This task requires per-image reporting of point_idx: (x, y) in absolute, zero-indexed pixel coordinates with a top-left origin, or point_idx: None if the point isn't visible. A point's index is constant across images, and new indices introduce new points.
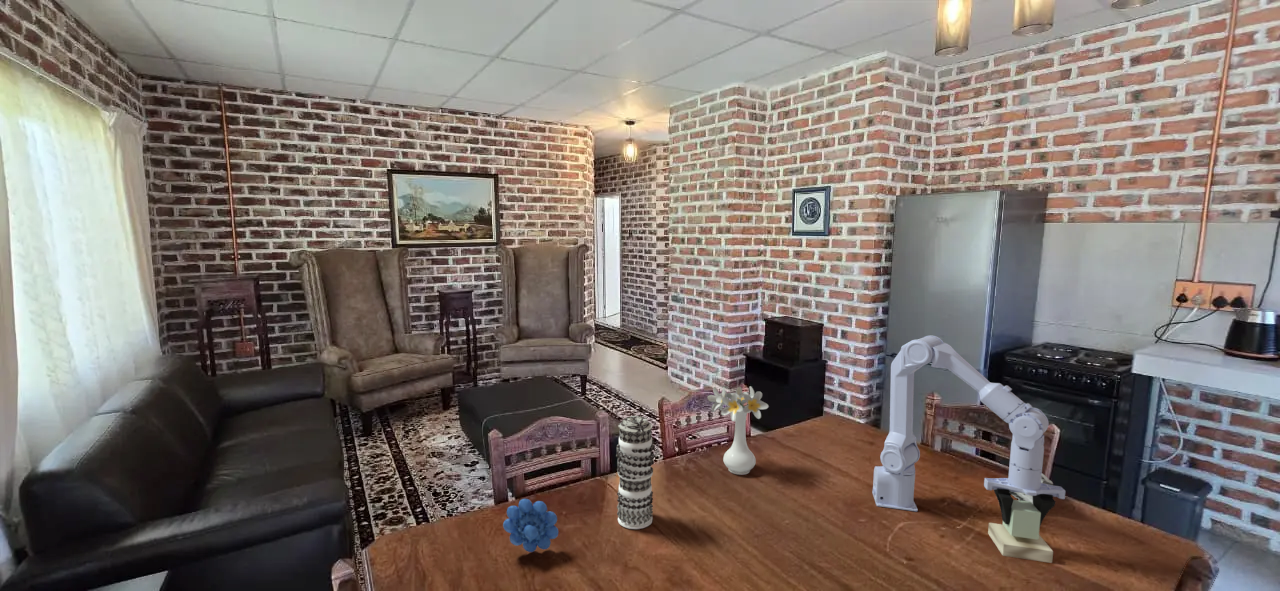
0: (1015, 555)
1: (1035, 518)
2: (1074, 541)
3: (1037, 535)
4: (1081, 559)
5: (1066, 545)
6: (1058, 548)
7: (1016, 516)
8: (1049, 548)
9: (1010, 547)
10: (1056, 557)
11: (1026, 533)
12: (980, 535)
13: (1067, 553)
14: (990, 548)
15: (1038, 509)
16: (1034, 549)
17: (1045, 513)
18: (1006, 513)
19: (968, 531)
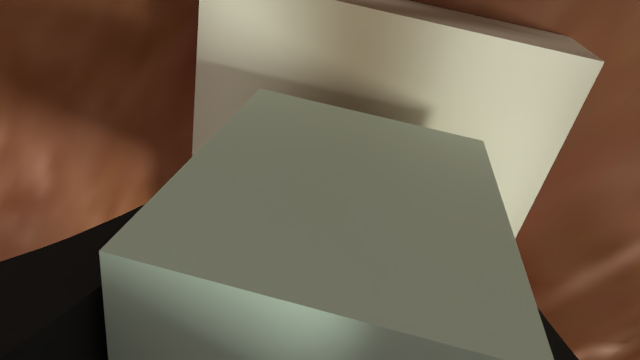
0: (482, 19)
1: (220, 208)
2: (10, 206)
3: (257, 104)
4: (31, 28)
5: (62, 171)
6: (117, 142)
7: (482, 268)
8: (209, 15)
9: (538, 41)
10: (173, 40)
11: (355, 128)
12: (528, 270)
13: (87, 91)
14: (590, 129)
15: (93, 345)
16: (344, 2)
17: (30, 259)
18: (563, 346)
19: (576, 309)
